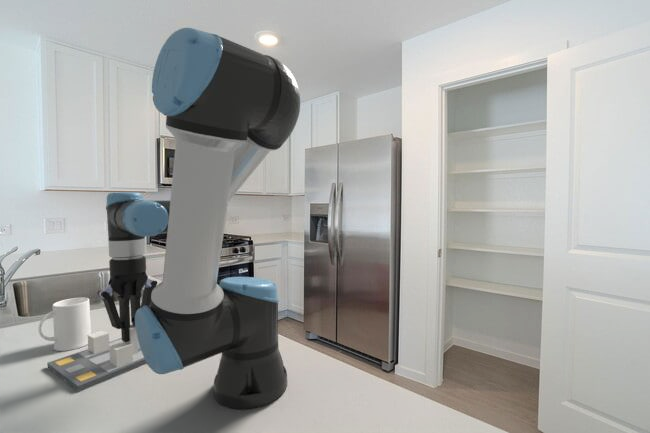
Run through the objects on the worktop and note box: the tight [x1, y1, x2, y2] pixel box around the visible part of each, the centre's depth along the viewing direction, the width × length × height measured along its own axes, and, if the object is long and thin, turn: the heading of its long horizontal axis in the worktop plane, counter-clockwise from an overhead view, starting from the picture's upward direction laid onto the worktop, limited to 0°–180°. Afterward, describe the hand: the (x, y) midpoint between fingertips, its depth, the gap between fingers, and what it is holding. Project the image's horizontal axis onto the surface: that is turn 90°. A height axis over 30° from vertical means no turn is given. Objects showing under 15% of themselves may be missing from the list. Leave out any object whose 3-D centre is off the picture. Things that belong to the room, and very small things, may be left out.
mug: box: [38, 297, 92, 352], centre depth 90 cm, size 12×8×12 cm
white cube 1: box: [109, 342, 133, 367], centre depth 78 cm, size 4×4×4 cm
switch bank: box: [46, 337, 147, 392], centre depth 83 cm, size 18×22×1 cm
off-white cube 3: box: [87, 330, 110, 354], centre depth 85 cm, size 4×4×4 cm
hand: (132, 352), depth 80 cm, fingers closed
